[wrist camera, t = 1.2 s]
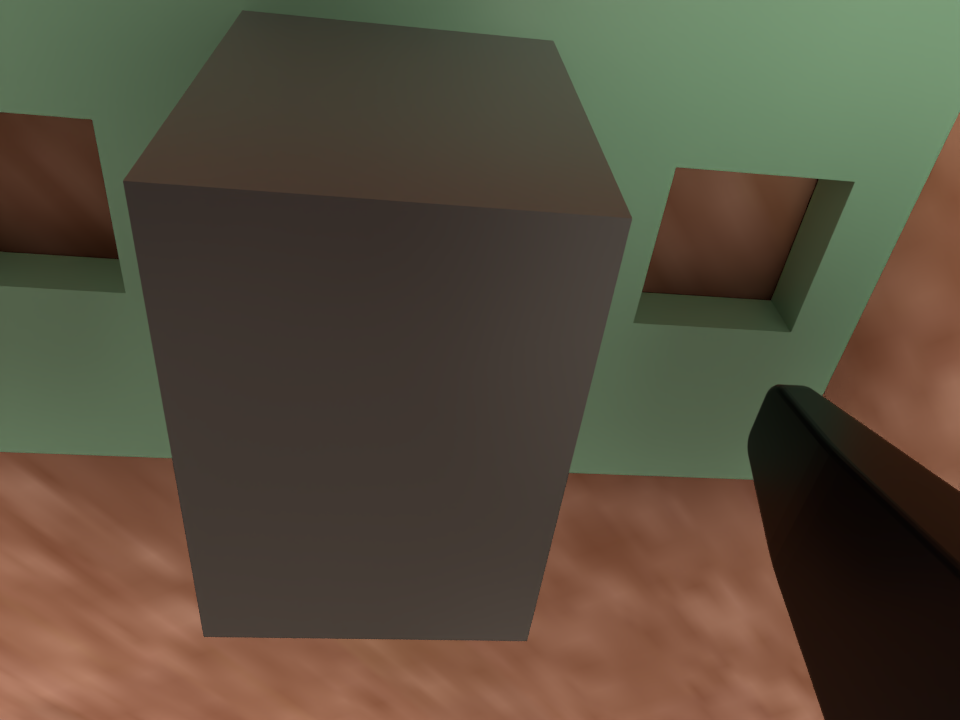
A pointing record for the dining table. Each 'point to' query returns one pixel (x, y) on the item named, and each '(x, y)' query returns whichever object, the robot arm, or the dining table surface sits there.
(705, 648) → the dining table surface
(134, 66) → the board
